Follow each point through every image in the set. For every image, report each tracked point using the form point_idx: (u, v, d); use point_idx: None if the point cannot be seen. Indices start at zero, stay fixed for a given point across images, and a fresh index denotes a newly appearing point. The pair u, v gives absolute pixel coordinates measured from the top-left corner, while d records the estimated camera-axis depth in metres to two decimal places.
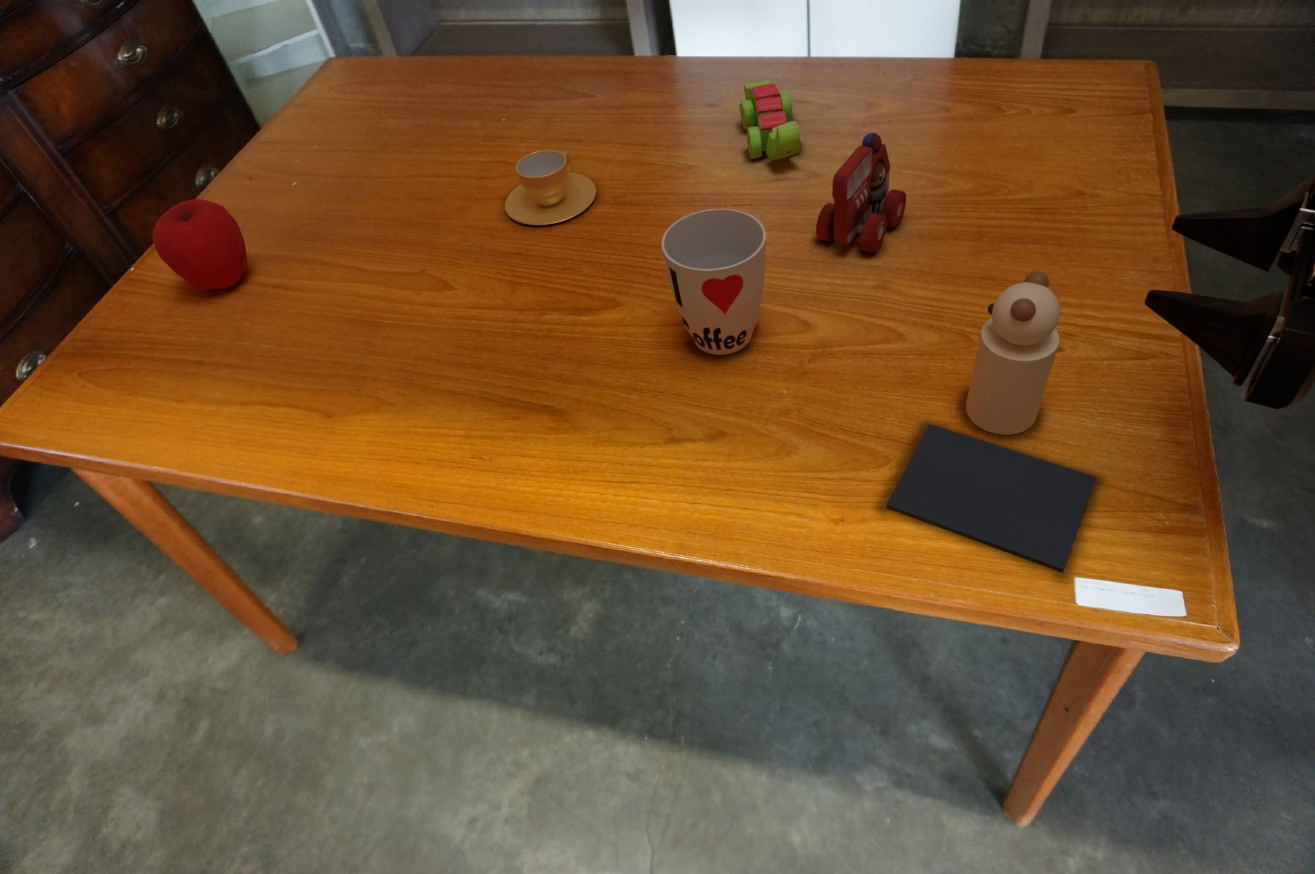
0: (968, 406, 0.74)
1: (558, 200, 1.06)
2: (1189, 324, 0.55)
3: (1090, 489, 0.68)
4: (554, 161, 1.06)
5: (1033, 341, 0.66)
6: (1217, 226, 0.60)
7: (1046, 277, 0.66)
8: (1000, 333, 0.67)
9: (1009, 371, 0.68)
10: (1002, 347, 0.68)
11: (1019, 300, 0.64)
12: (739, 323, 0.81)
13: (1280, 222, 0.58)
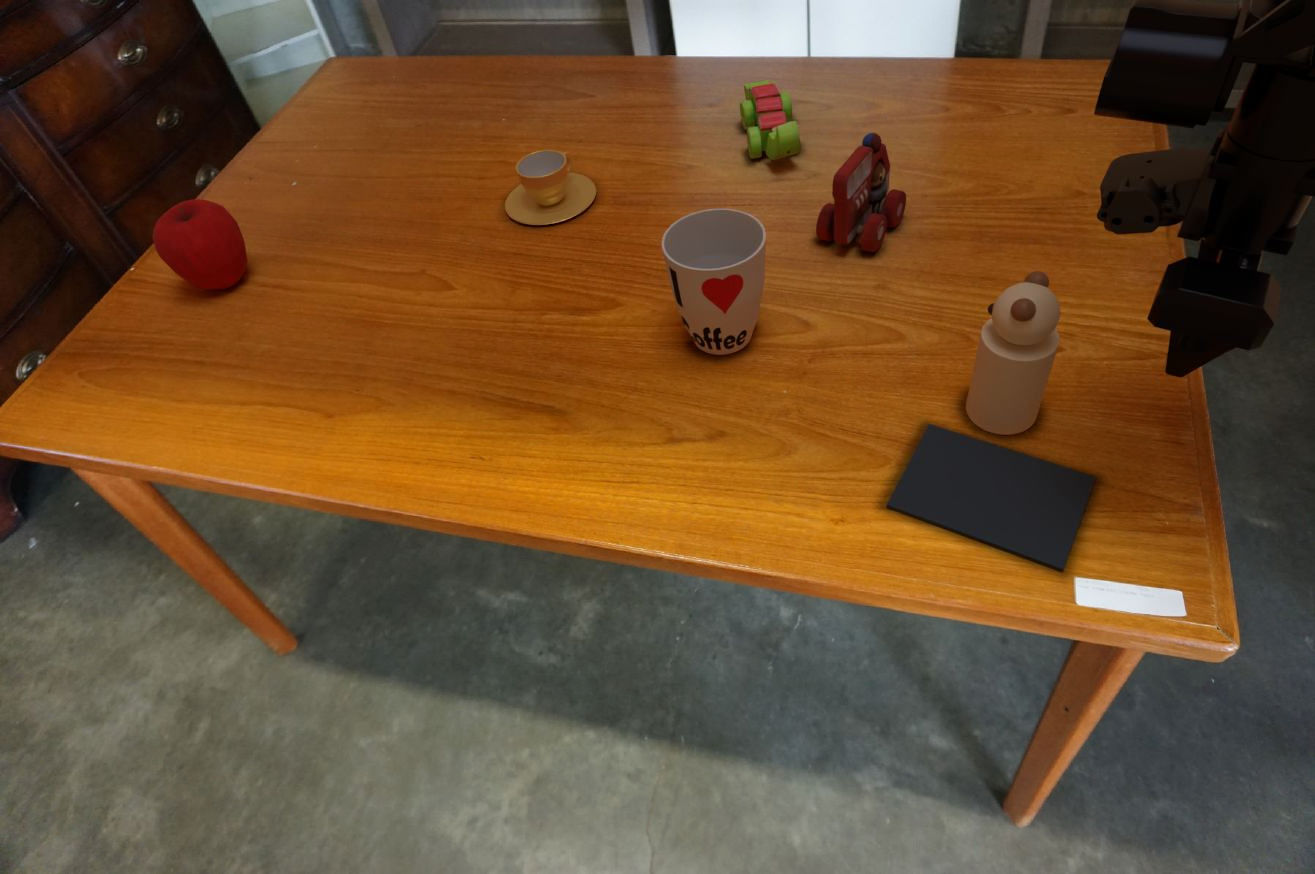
0: (968, 406, 0.74)
1: (558, 200, 1.06)
2: (1198, 354, 0.55)
3: (1090, 489, 0.68)
4: (554, 161, 1.06)
5: (1033, 341, 0.66)
6: None
7: (1046, 277, 0.66)
8: (1000, 333, 0.67)
9: (1009, 371, 0.68)
10: (1002, 347, 0.68)
11: (1019, 300, 0.64)
12: (739, 323, 0.81)
13: None
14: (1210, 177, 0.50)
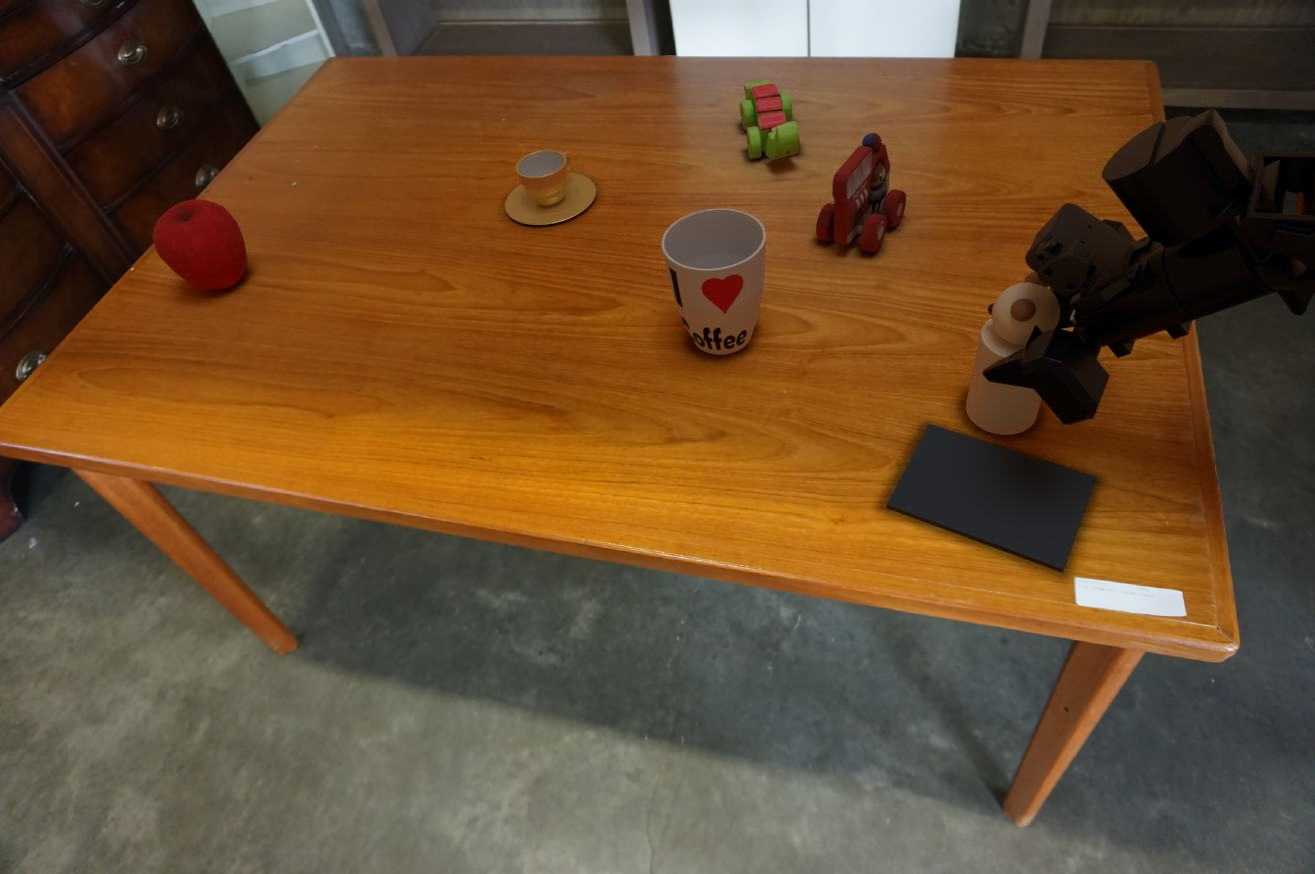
0: (968, 406, 0.74)
1: (558, 200, 1.06)
2: (1018, 378, 0.66)
3: (1090, 489, 0.68)
4: (554, 161, 1.06)
5: None
6: None
7: None
8: (1000, 333, 0.67)
9: None
10: (1002, 347, 0.68)
11: (1019, 300, 0.64)
12: (739, 323, 0.81)
13: None
14: (1129, 281, 0.58)
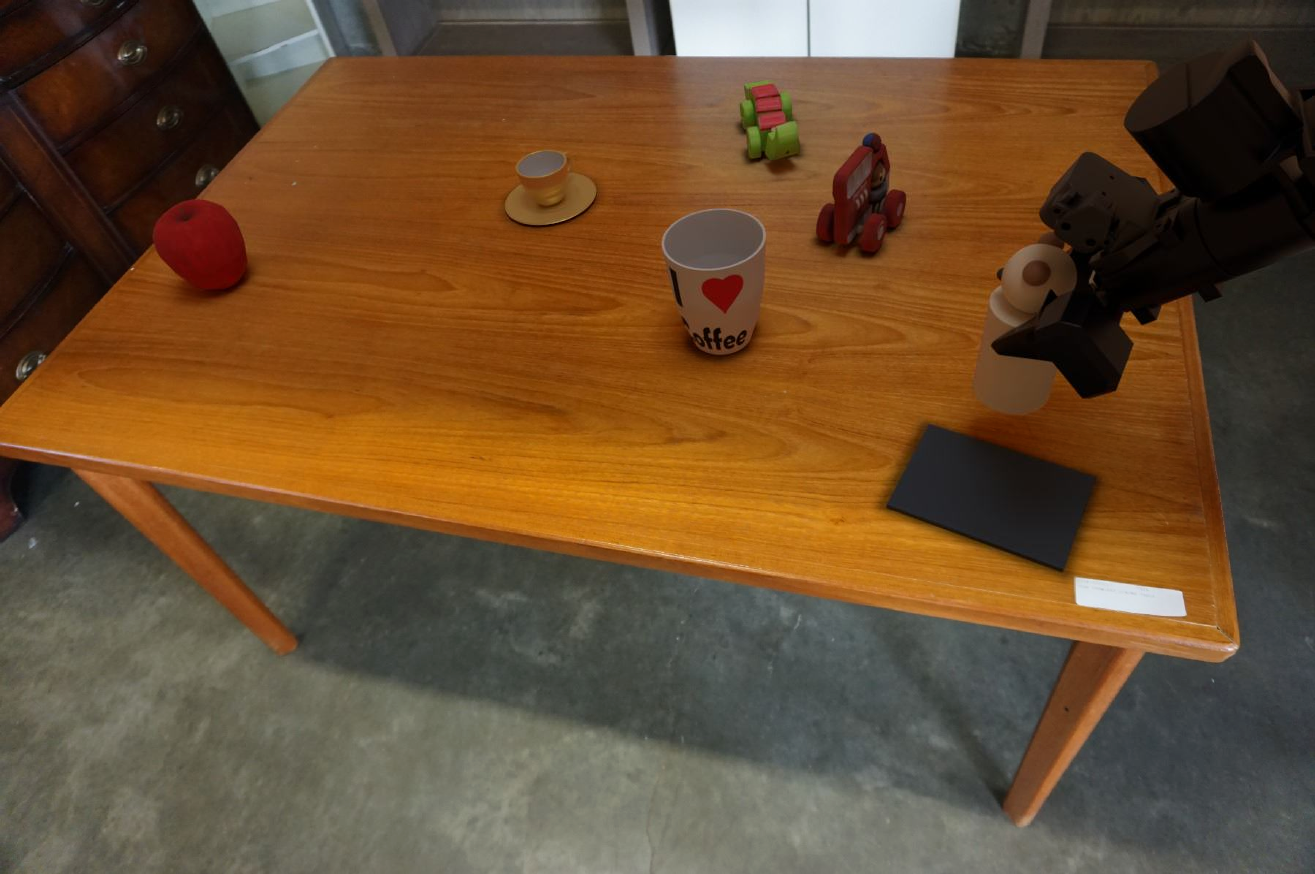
0: (975, 384, 0.68)
1: (558, 200, 1.06)
2: (1030, 350, 0.60)
3: (1090, 489, 0.68)
4: (554, 161, 1.06)
5: None
6: None
7: None
8: (1010, 300, 0.61)
9: None
10: (1012, 316, 0.61)
11: (1032, 262, 0.58)
12: (739, 323, 0.81)
13: None
14: (1156, 236, 0.51)
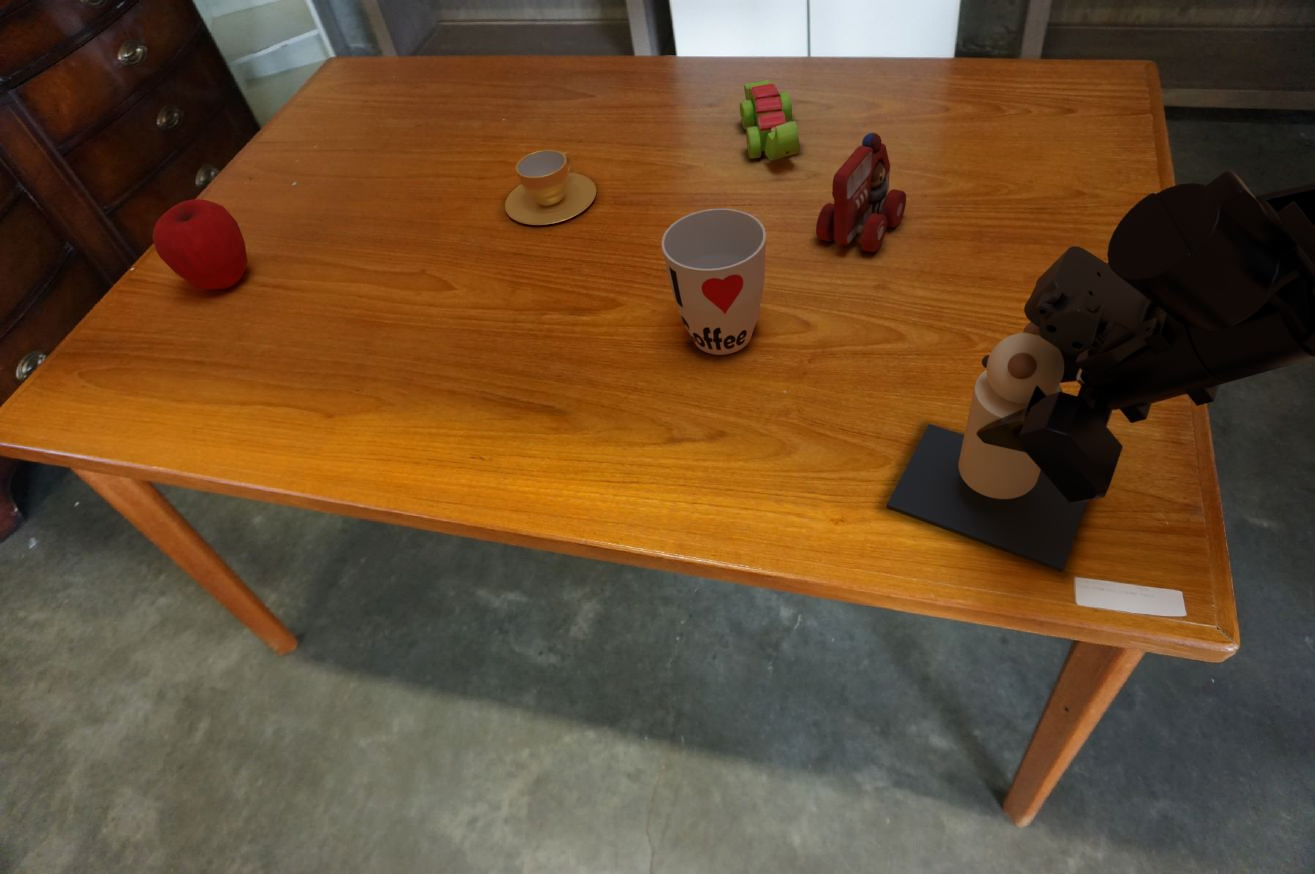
0: (961, 465, 0.66)
1: (558, 200, 1.06)
2: (1017, 442, 0.58)
3: None
4: (554, 161, 1.06)
5: None
6: None
7: None
8: (996, 390, 0.59)
9: None
10: (998, 405, 0.60)
11: (1017, 355, 0.56)
12: (739, 323, 0.81)
13: None
14: (1145, 339, 0.50)
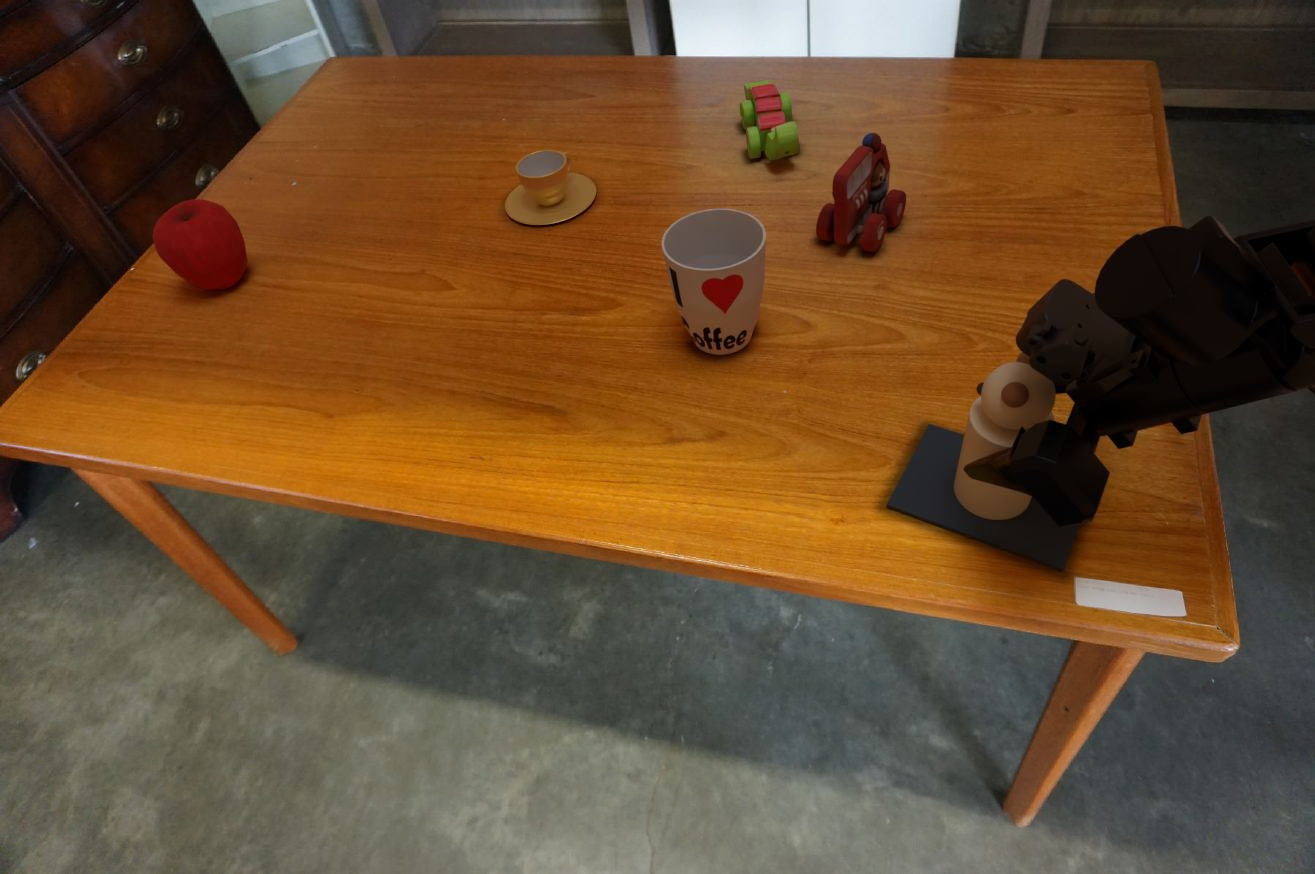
0: (956, 487, 0.68)
1: (558, 200, 1.06)
2: (1003, 479, 0.59)
3: None
4: (554, 161, 1.06)
5: (1026, 427, 0.60)
6: None
7: None
8: (990, 417, 0.61)
9: None
10: (992, 431, 0.62)
11: (1010, 384, 0.58)
12: (739, 323, 0.81)
13: None
14: (1131, 371, 0.51)
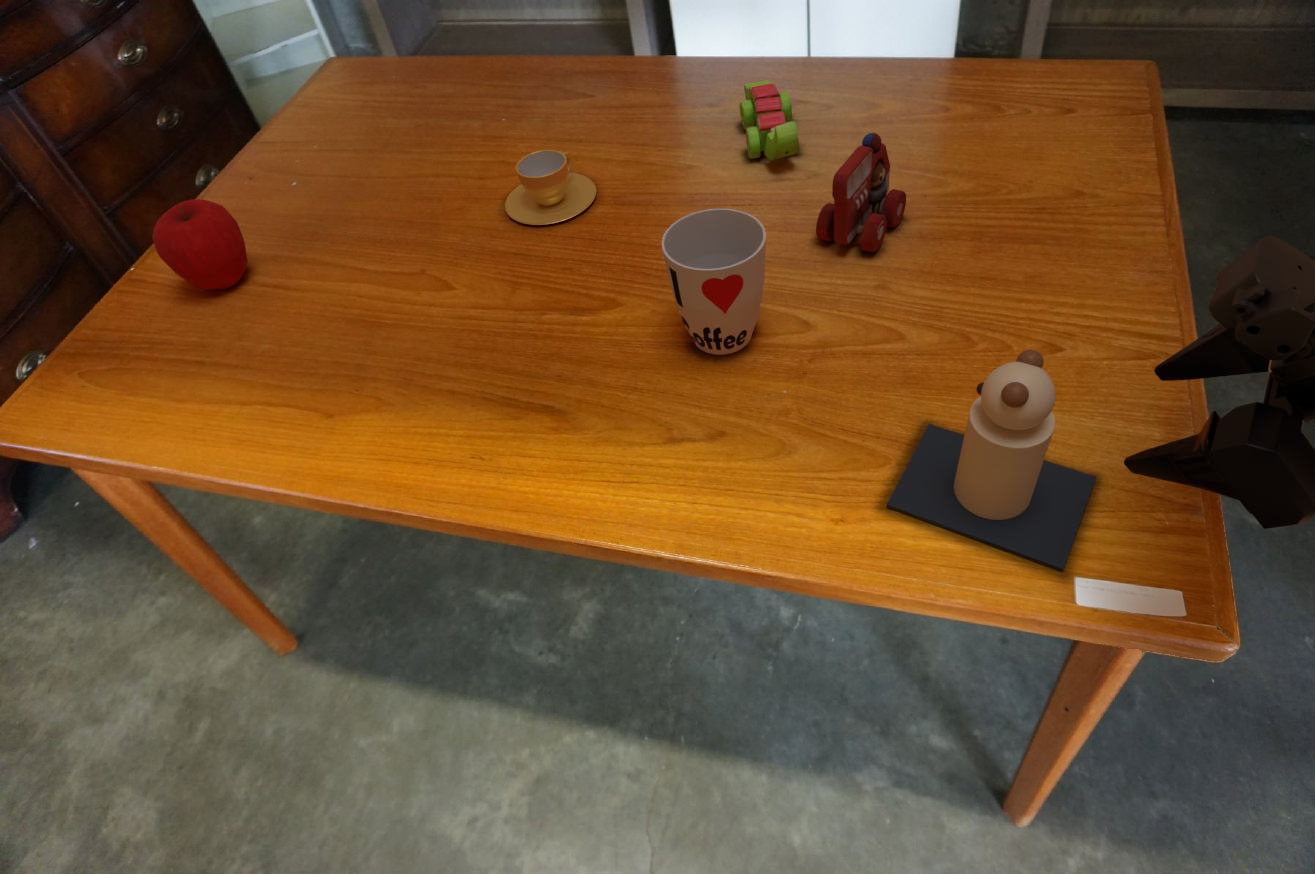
0: (956, 487, 0.68)
1: (558, 200, 1.06)
2: (1177, 474, 0.51)
3: (1090, 489, 0.68)
4: (554, 161, 1.06)
5: (1026, 427, 0.60)
6: (1195, 359, 0.56)
7: (1040, 357, 0.59)
8: (990, 417, 0.61)
9: (999, 457, 0.62)
10: (992, 431, 0.62)
11: (1010, 384, 0.58)
12: (739, 323, 0.81)
13: None
14: None
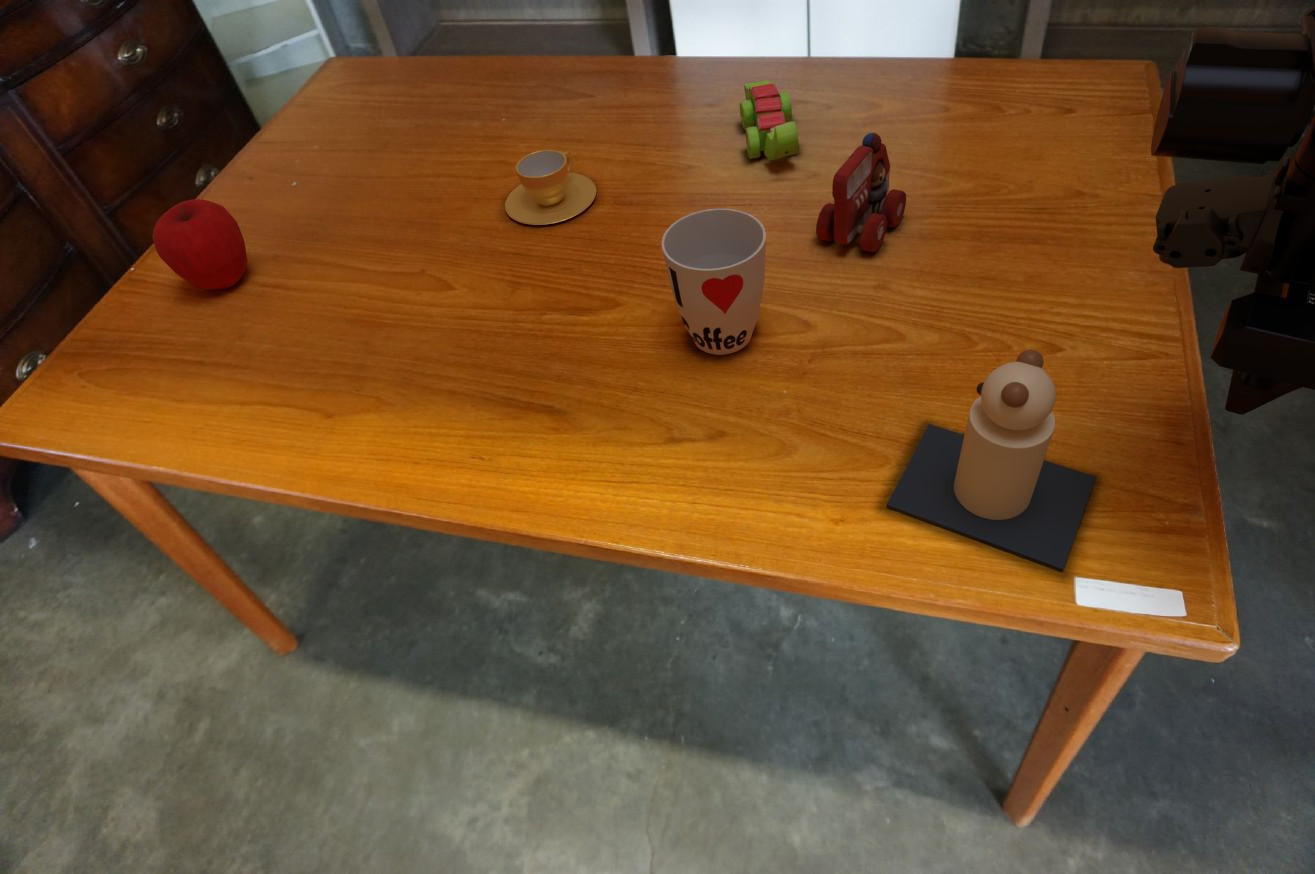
0: (956, 487, 0.68)
1: (558, 200, 1.06)
2: (1263, 392, 0.53)
3: (1090, 489, 0.68)
4: (554, 161, 1.06)
5: (1026, 427, 0.60)
6: None
7: (1040, 357, 0.59)
8: (990, 417, 0.61)
9: (999, 457, 0.62)
10: (992, 431, 0.62)
11: (1010, 384, 0.58)
12: (739, 323, 0.81)
13: None
14: (1277, 208, 0.48)
